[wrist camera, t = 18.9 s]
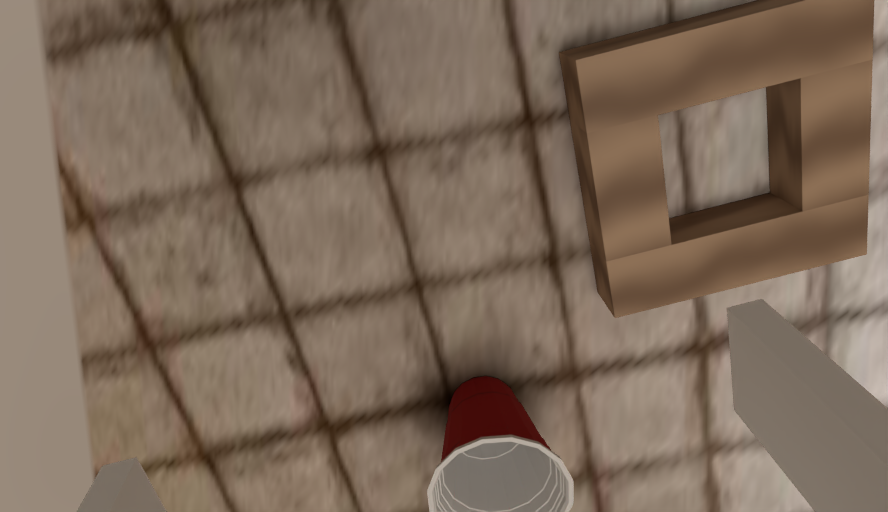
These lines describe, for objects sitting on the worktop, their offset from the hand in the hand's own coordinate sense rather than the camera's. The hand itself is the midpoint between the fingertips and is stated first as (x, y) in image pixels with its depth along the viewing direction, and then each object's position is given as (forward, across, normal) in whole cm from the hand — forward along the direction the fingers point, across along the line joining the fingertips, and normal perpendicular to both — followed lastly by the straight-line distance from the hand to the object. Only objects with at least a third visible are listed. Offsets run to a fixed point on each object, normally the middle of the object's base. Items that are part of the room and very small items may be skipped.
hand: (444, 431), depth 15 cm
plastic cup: (+37, 0, -27) cm, 46 cm away
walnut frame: (+37, +22, -9) cm, 44 cm away
